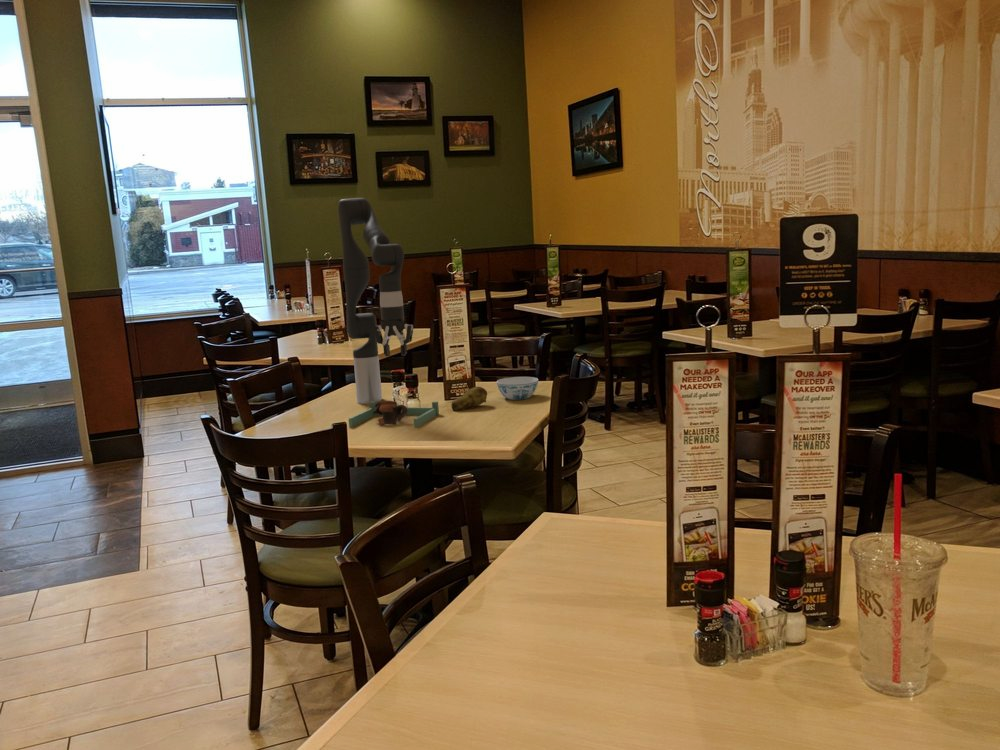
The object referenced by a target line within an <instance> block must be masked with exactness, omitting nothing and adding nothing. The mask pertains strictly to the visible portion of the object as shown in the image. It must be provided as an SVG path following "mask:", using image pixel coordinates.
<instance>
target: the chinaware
mask: <svg viewBox="0 0 1000 750" xmlns="http://www.w3.org/2000/svg"><path fill="white" fill-rule="evenodd" d="M538 384H539V379H538V377H533V376H513V377H504V378H500V379H497V380H496V386H497V388H498V391H499V392H500V394H501V395H502V396H503V398H505V399H507V400H512V401H519V400H526V399H529V398H531V397H532V396H533V395H534V394H535V392H536V390H537V388H538Z"/></svg>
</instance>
